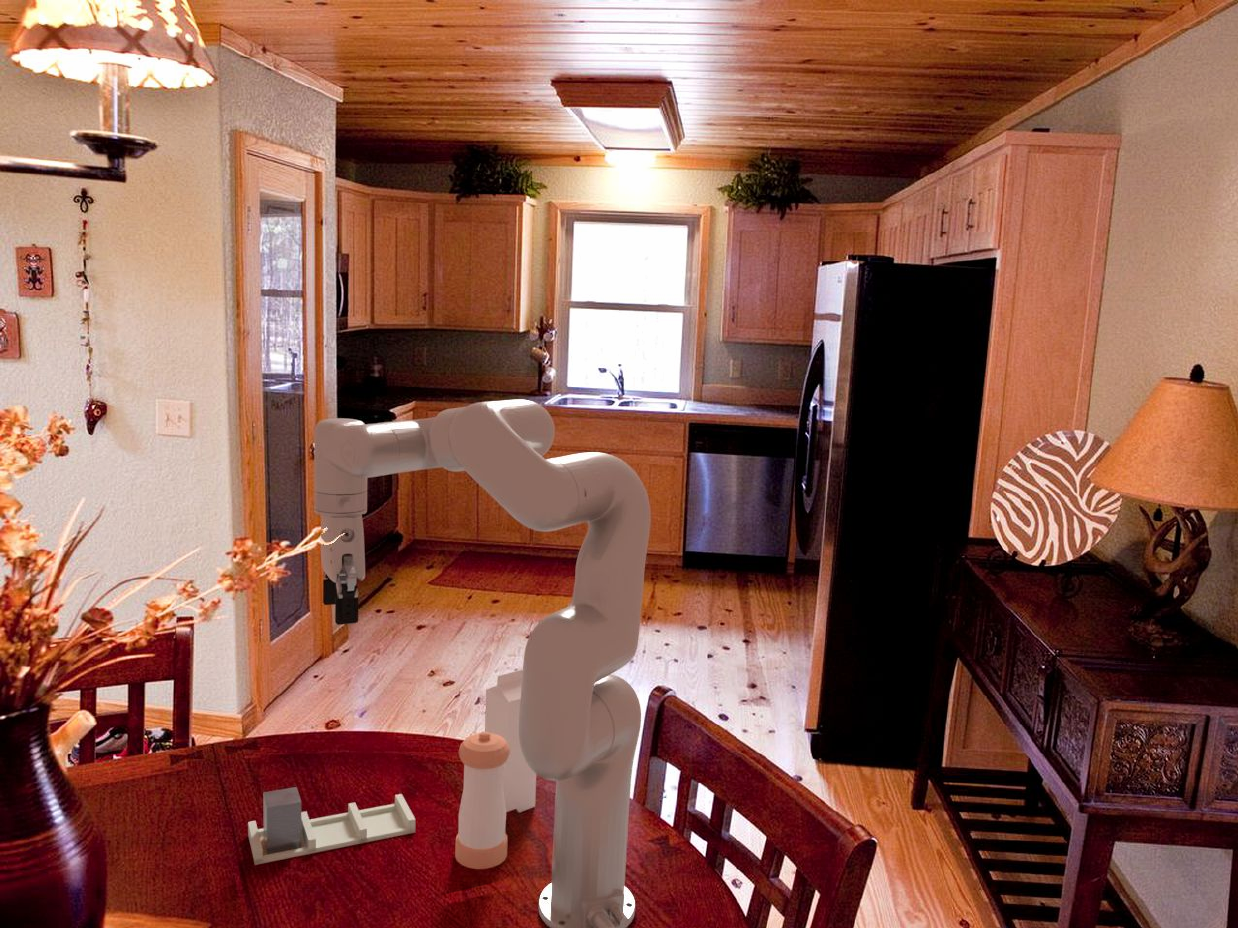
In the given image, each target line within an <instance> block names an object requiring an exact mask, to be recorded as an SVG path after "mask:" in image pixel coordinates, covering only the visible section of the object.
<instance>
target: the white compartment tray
mask: <svg viewBox="0 0 1238 928" xmlns="http://www.w3.org/2000/svg"><path fill="white" fill-rule="evenodd" d="M347 806H348V807H347V811H348V812H343V813H338V814H337V813H336V814H332V815H326V816H321V817H317V818H315V817H314V818H311V819H310V817H309V814H308V811H307V810H306V811H301V848H299V849H294V850H289V851H284V852H279V853H274V854H269V855H267V852H266V847H265V843H264V827H263V828H258V826H257V821H256V820H252V821H251V820H250V821H248V822H247V826H248V827H247V833H248V834H247V836H248V840H249V844H250V849H251V854H252V858H253V863H254V866H257V865H260V864H266V863H270V862H275V861H280V860H281V861H282V860H286V859H290V858H294V857H295V858H296V857H300V856H306V855H311V854H315V853H320V852H321V853H322V852H325V851H326V852H327V851H330V850H331V851H332V850H335V849H340V848H345V847H350V846H354V845H360V844H364V843H370V842H374V841H380V840H385V839H390V838H393V837H398V836H399V837H400V836H404V835H408V834H414V833H416V818H415V815H414V814H413V812H412V810H411V809H410V808H411V807H409V805H408V803H407V801H406V799H405V797H404V795H403V794H402V793H399V794H395V795H394V803H391V804H387V805H380V806H375V807H370V808H364V809H359V808H358V806H357V804H356V802H350V803H348V805H347Z"/></svg>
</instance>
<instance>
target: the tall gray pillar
mask: <svg viewBox="0 0 1238 928" xmlns="http://www.w3.org/2000/svg"><path fill="white" fill-rule="evenodd" d="M262 795H263V796H262V797H263V801H262V802H263V805H262V807H263V810H262V811H263V815H262V816H263V828H264V843H265V847H266V852H267V855H269V854H274V853H279V852H284V851H289V850H294V849H299V848H301V812H302V799H301V797H300V793H299V790H298V786H294V787H289V788H283V789H276V790H270V791H264V792H263V793H262Z"/></svg>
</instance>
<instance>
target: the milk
mask: <svg viewBox="0 0 1238 928" xmlns="http://www.w3.org/2000/svg"><path fill="white" fill-rule="evenodd" d="M522 674H523V668H522V669H519V670H514V671H511V672H506V673H502V674H499V675H498V676H497V680H496V681H497V682H496V683H497V684H496V685H494V686H492V687H489V688H486V689H485V711H484V712H485V717H484V731H486V732H489V733H492V734H496V735H500V736H501V737H503V738H504V739H505V740H506V742H507V743H508V745H509V748H510V754H509V757H508V759H507V760H506V762H505V763H504V766H503V792H504V800H505V808H506V813H508V812H511V811H514V810H516V811H517V812H518V813H522V812H524V811H527V810H530V809H533V808H535V807H536V793H537V791H536V790H537V774H536V773H535V772H534V771H533V770H532V769H531V768H530V767H529V765H528V764H527V762H526V760H525V758H524V756H523V753H522V750H521V746H520V740H519V714H520V700H521V687H522Z"/></svg>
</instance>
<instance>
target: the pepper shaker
mask: <svg viewBox="0 0 1238 928" xmlns="http://www.w3.org/2000/svg"><path fill="white" fill-rule="evenodd" d="M459 745H460V746H459V747H458V748H459V749H458V755H459V758H460V760H461V762H462V764H463V766H464V767H463V791H462V794H461V799H460V805H459V811H458V833H457V834H456V837H455V853H454V854H455V855H454V858H455V860H456V862H457V863H459V864H460V865H461V866H464V867H466V868H469V869H475V870H486V869H489V868H490V869H491V868H495V867H496V866H499V865H502V863H503V862H504V861H505V860H506V859H507V856H508V834H507V833H506V824H507V823H506V821H507V812H506V808H505V800H504V792H503V766H504V763H505V762H506V760H507V759H508V757H509V754H510V748H509V745H508V743H507V742H506V740H505V739H504V738H503V737H501V736H500V735H496V734H492V733H489V732H486V731H485V730H484V731H481V732H479V733H475V734H471V735H469V736H467V737H466V738H465V739H464V740H463V741H462V742H461V743H460V744H459Z"/></svg>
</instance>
